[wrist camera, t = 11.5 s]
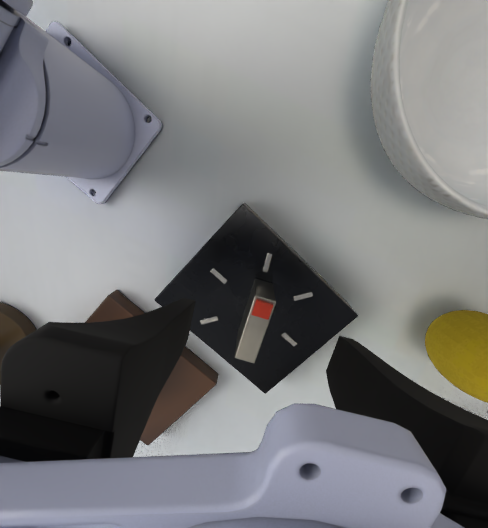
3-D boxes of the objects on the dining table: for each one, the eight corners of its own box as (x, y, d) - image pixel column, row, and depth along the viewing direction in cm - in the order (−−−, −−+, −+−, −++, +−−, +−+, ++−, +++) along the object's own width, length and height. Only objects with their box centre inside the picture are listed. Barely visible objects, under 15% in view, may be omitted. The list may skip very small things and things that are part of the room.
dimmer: (164, 288, 23) (153, 300, 20) (244, 202, 21) (242, 203, 18) (264, 374, 25) (265, 395, 22) (347, 302, 22) (359, 316, 20)
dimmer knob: (254, 336, 21) (254, 366, 17) (237, 331, 21) (233, 360, 17) (273, 283, 20) (277, 303, 16) (255, 277, 20) (254, 296, 16)
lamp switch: (55, 360, 25) (27, 383, 22) (116, 289, 23) (95, 304, 20) (153, 433, 27) (139, 464, 24) (218, 374, 25) (213, 399, 22)
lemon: (446, 363, 23) (539, 447, 16) (392, 337, 23) (460, 410, 15) (488, 312, 22) (613, 376, 14) (431, 283, 22) (528, 333, 14)
